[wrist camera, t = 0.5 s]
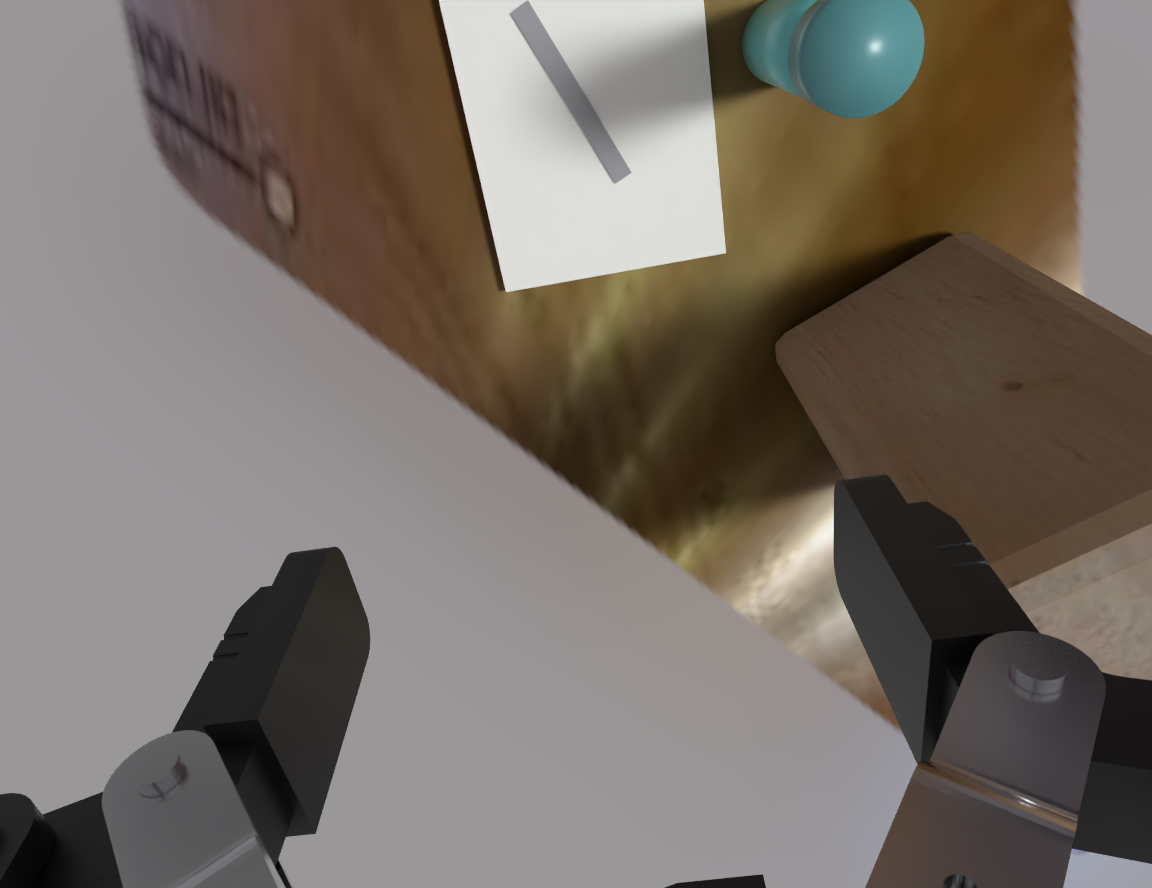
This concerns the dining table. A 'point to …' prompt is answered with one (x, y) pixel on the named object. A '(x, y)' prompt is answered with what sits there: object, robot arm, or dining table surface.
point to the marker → (836, 51)
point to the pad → (589, 133)
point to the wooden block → (1001, 429)
